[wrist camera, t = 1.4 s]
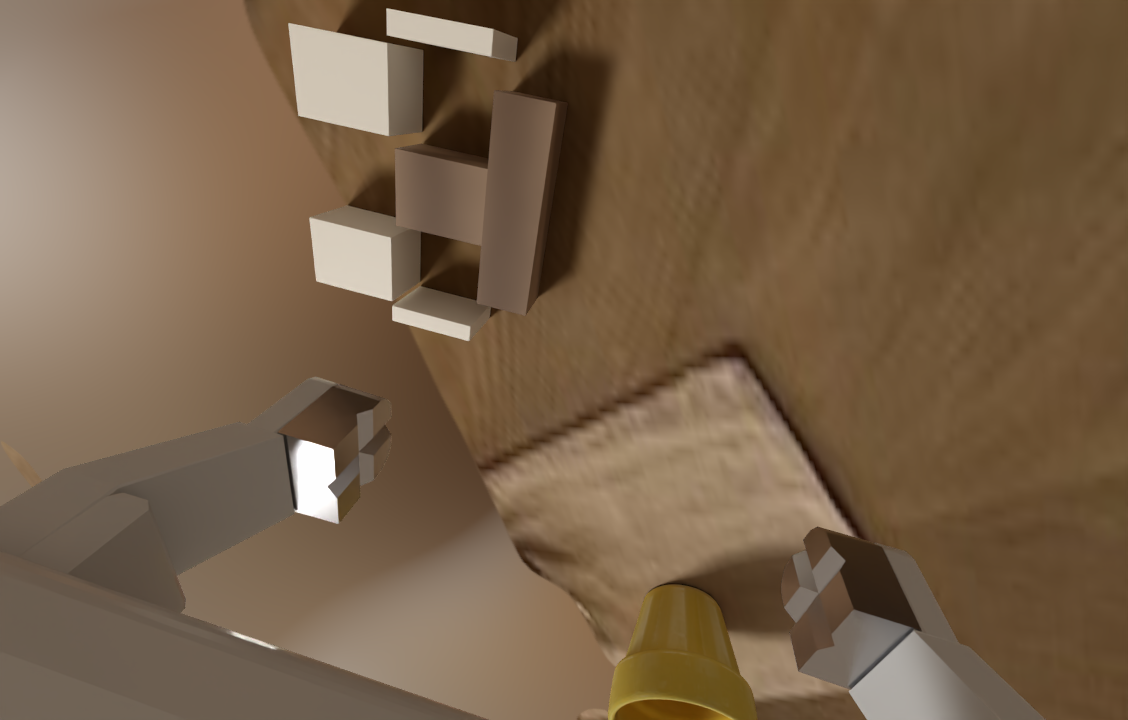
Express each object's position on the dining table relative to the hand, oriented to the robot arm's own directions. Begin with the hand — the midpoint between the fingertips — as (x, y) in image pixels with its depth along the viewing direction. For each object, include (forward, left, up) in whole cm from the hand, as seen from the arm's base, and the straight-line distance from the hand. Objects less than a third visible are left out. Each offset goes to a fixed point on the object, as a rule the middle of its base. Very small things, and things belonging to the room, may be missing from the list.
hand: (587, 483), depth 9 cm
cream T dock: (+14, 0, -20) cm, 24 cm away
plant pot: (-11, +31, -21) cm, 39 cm away
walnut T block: (+10, 0, -20) cm, 22 cm away
